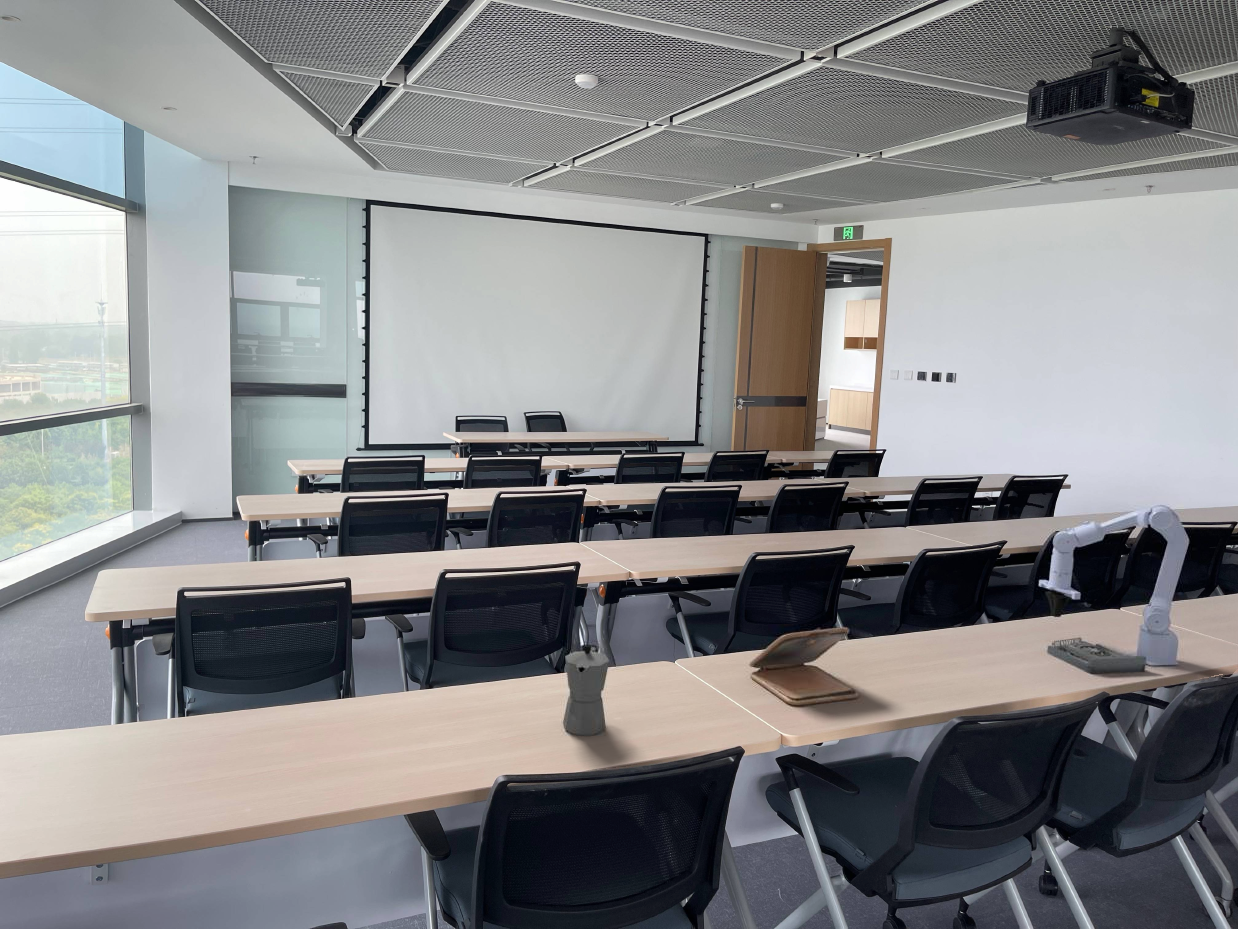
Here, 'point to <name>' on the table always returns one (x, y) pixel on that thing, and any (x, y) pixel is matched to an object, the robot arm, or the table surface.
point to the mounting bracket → (1103, 662)
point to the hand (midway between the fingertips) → (1056, 616)
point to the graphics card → (1083, 649)
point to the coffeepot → (585, 691)
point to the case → (801, 668)
